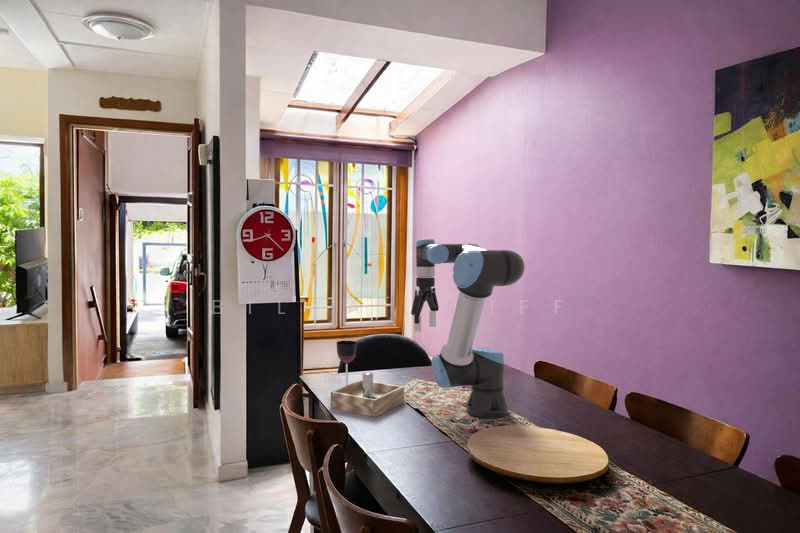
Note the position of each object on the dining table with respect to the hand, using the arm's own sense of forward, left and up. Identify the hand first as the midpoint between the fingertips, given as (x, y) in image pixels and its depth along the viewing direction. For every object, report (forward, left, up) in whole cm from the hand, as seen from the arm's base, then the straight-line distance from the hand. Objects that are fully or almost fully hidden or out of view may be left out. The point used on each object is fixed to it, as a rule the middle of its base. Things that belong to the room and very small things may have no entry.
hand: (425, 329), depth 215 cm
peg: (+12, +25, -27) cm, 38 cm away
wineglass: (+31, +13, -27) cm, 42 cm away
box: (+12, +25, -27) cm, 38 cm away
